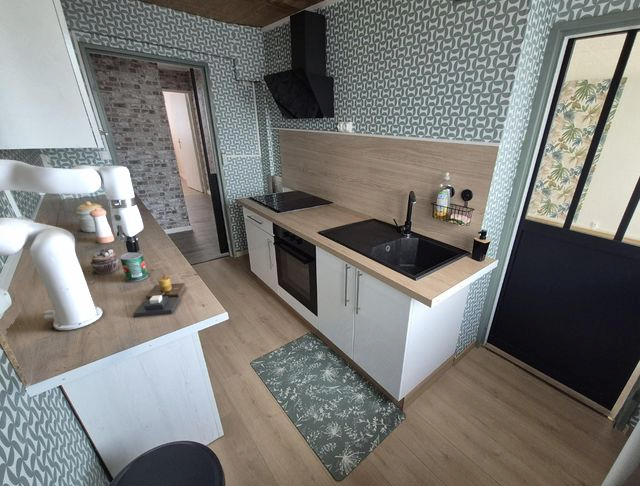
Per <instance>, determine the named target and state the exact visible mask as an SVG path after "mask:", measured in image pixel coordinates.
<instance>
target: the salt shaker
mask: <svg viewBox="0 0 640 486" xmlns="http://www.w3.org/2000/svg"><path fill="white" fill-rule="evenodd" d="M89 214H90V216H92V217H93V221H94V225H95V232H94V233H95V235H96V236H95V237H96V240H97V243H98V244H107V243H112V242H114V241H115V236H114V234H113V233H112V229H111V226H110V224H109V222H108V219H106V218H107V211H106V210H105V209H104V210H102V209H98V208H96V209H95V210H92V211H90V213H89ZM105 215H106V216H105ZM107 222H108V223H107Z"/></svg>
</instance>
